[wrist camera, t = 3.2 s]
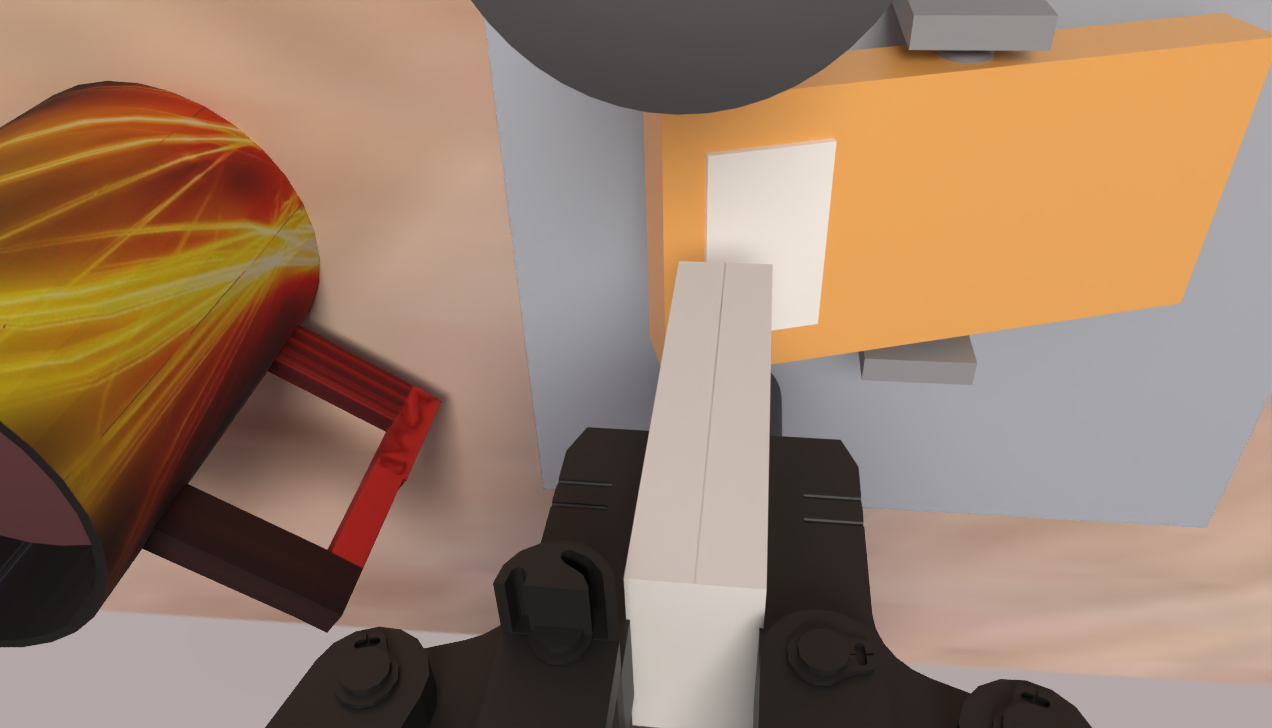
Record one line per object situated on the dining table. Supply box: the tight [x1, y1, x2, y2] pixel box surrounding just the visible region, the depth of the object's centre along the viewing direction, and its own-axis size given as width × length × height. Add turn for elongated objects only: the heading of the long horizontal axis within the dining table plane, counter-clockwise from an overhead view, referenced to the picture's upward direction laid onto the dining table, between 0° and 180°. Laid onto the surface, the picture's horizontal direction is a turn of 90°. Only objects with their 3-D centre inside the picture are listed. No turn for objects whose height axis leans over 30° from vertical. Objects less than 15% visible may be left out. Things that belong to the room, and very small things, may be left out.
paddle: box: [643, 13, 1272, 367], centre depth 19 cm, size 12×6×2 cm, turn 92°
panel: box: [484, 0, 1272, 528], centre depth 21 cm, size 20×24×7 cm
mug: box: [0, 81, 441, 647], centre depth 25 cm, size 10×14×12 cm
